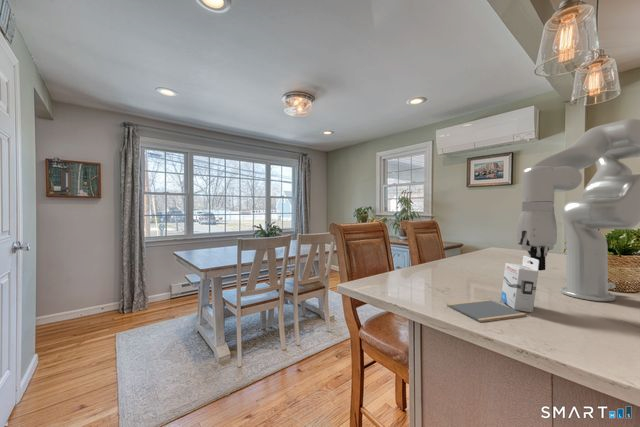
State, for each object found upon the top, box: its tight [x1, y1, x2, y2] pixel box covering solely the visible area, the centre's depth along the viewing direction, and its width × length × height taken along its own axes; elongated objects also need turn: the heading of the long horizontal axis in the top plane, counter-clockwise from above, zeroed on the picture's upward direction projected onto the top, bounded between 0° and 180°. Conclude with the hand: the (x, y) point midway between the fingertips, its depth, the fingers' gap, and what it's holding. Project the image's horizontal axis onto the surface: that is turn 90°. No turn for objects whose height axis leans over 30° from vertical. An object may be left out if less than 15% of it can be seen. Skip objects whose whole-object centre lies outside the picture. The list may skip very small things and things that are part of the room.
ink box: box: [500, 255, 539, 313], centre depth 78 cm, size 9×5×15 cm, turn 168°
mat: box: [446, 299, 527, 323], centre depth 76 cm, size 15×12×1 cm
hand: (537, 269), depth 80 cm, fingers closed
